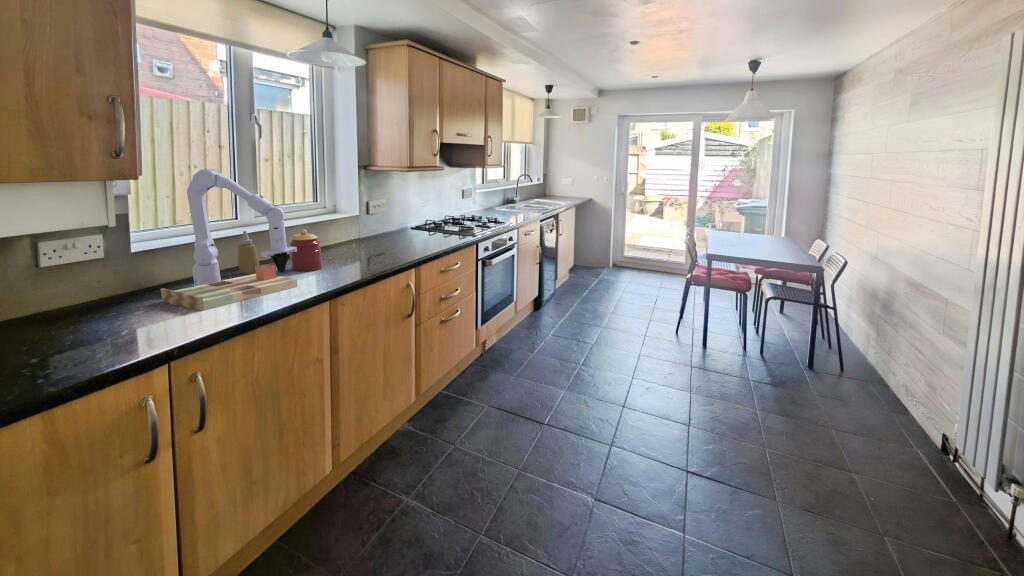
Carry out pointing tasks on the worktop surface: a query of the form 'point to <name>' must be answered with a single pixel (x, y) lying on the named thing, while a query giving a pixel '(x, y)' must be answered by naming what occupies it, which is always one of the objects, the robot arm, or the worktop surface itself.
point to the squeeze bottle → (247, 255)
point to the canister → (305, 252)
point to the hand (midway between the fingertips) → (281, 272)
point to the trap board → (226, 291)
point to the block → (265, 272)
